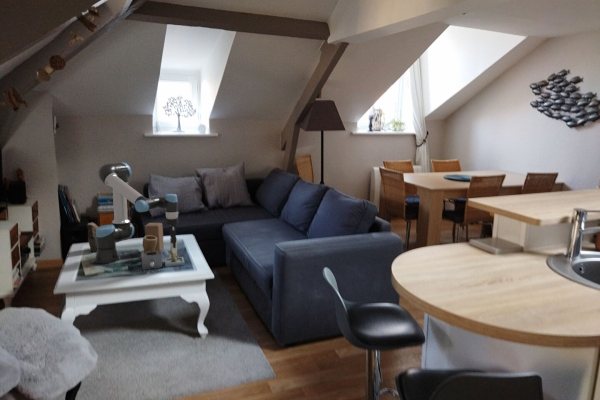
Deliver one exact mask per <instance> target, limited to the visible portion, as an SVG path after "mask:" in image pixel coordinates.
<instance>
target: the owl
mask: <svg viewBox="0 0 600 400" xmlns="http://www.w3.org/2000/svg"><path fill="white" fill-rule="evenodd" d="M98 227H99V226H98V225H97V224H96V223H95V222H92V221H91V222H88V223H87V224H86V229H87V242H88V244H89V250H90V249H91V252H90V253H97V241H96V229H97V228H98Z"/></svg>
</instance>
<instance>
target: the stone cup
mask: <svg viewBox="0 0 600 400" xmlns="http://www.w3.org/2000/svg"><path fill="white" fill-rule="evenodd" d="M156 245H157V237H155V236H152V235H147V236H145V235H144V237H143V238H142V248H143V251H142V252H148V251H155V248H156ZM139 258H140V259H141V260H142V253H141V254H139Z"/></svg>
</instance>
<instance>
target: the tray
mask: <svg viewBox="0 0 600 400" xmlns="http://www.w3.org/2000/svg"><path fill="white" fill-rule="evenodd" d="M163 259H164V267H165V268H166V267H167V268H168V267H169V268H170V267H178V266H179V267H180V266H185V260H184V256H177V262H173V263H172V262H171V257H167V258H165V257H164V258H163Z"/></svg>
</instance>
